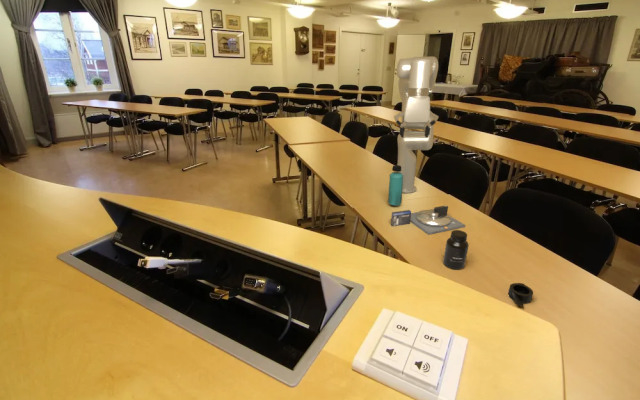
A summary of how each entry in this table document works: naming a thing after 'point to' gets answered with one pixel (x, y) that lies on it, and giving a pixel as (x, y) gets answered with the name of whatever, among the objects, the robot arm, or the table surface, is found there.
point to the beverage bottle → (395, 186)
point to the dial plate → (432, 230)
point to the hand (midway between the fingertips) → (414, 136)
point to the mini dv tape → (400, 218)
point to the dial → (434, 217)
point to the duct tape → (520, 293)
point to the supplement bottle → (456, 250)
